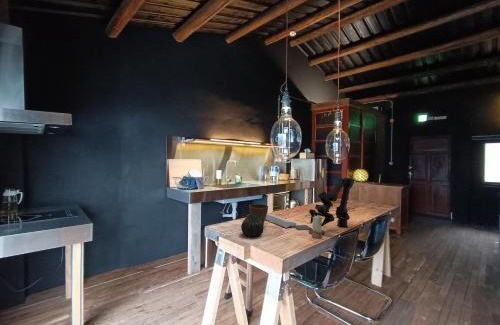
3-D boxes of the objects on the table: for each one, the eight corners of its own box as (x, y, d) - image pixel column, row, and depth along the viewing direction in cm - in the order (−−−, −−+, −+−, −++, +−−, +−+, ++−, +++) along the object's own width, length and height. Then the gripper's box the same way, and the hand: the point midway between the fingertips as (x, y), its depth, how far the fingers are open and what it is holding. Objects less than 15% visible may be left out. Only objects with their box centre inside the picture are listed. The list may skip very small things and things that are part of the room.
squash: (266, 231, 161) (262, 210, 170) (243, 233, 158) (240, 212, 167) (262, 240, 171) (259, 220, 181) (241, 242, 168) (238, 222, 178)
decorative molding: (270, 219, 221) (260, 218, 216) (271, 214, 222) (262, 212, 217) (295, 229, 192) (285, 227, 187) (296, 223, 192) (286, 221, 187)
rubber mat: (306, 225, 196) (306, 224, 196) (312, 229, 186) (312, 228, 186) (293, 226, 194) (293, 225, 194) (298, 230, 184) (298, 229, 184)
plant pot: (267, 224, 197) (268, 204, 197) (267, 230, 182) (268, 208, 182) (249, 223, 199) (249, 203, 198) (247, 228, 184) (247, 207, 183)
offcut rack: (316, 231, 182) (316, 228, 182) (325, 233, 176) (325, 231, 176) (308, 233, 177) (308, 230, 177) (317, 236, 171) (317, 233, 171)
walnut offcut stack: (316, 236, 172) (316, 229, 172) (322, 238, 168) (322, 231, 168) (311, 237, 168) (311, 230, 168) (317, 239, 164) (318, 232, 164)
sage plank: (316, 232, 180) (317, 215, 180) (321, 233, 177) (321, 217, 176) (312, 233, 177) (312, 216, 176) (317, 235, 174) (317, 218, 173)
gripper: (310, 198, 186) (300, 214, 179) (332, 202, 171) (322, 220, 165) (316, 207, 191) (307, 224, 184) (338, 212, 177) (329, 230, 170)
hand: (316, 224), depth 176 cm, fingers open, 9 cm apart
